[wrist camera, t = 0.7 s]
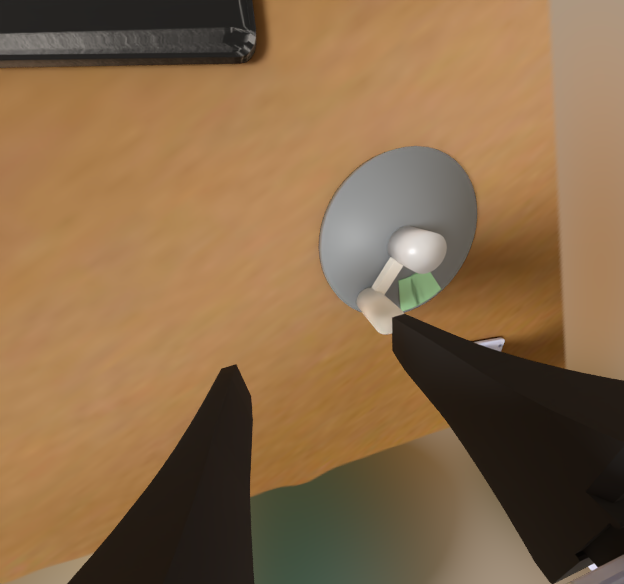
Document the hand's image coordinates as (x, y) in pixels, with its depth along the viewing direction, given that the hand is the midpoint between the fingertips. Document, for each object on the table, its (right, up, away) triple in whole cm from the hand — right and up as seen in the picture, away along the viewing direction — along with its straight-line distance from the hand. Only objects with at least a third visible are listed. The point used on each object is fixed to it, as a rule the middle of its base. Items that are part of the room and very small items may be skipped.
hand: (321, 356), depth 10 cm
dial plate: (+7, +7, +10) cm, 14 cm away
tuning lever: (+6, +5, +9) cm, 12 cm away
